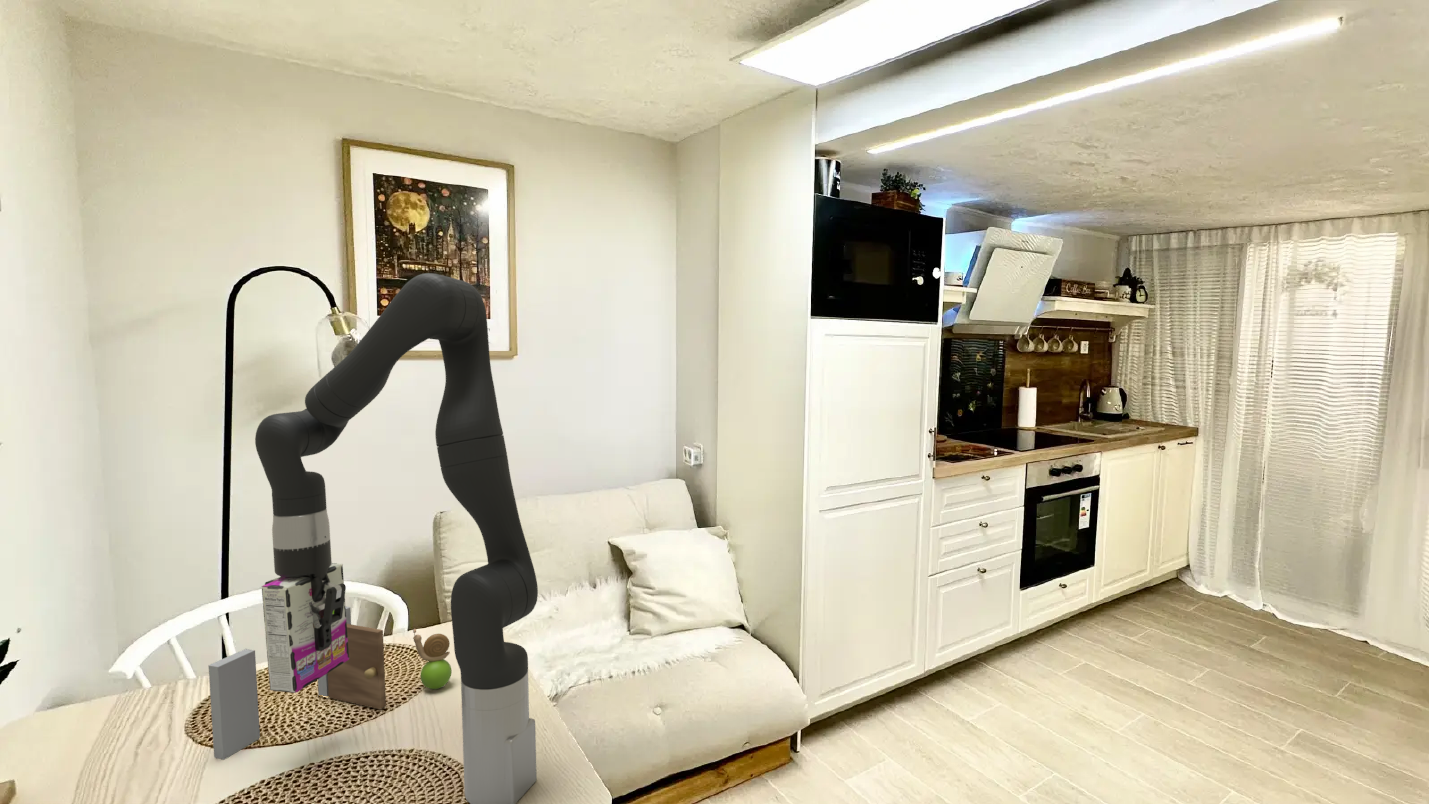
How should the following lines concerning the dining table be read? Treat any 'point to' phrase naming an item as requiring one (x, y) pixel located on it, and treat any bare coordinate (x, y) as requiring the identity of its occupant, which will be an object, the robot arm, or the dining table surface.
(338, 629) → the candy bar box
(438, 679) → the snail figurine
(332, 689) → the door
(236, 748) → the door frame
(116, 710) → the dining table surface
